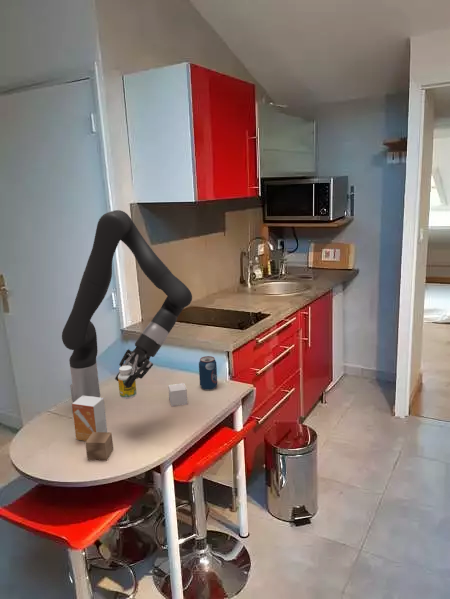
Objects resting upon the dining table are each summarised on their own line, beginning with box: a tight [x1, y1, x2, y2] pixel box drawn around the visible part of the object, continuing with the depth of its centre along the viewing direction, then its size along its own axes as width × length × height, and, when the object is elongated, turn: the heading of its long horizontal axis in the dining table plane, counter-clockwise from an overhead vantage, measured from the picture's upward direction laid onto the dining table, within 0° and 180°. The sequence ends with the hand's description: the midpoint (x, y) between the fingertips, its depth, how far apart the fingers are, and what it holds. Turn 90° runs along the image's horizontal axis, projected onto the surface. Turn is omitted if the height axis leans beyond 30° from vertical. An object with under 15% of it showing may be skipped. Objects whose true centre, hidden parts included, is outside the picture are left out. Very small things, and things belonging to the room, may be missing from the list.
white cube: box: [168, 382, 188, 407], centre depth 178 cm, size 6×6×6 cm
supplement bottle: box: [117, 365, 137, 400], centre depth 152 cm, size 5×5×10 cm
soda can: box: [198, 355, 218, 391], centre depth 189 cm, size 7×7×12 cm
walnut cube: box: [84, 431, 114, 462], centre depth 146 cm, size 6×6×6 cm
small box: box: [71, 396, 108, 442], centre depth 155 cm, size 8×6×13 cm
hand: (121, 383), depth 151 cm, fingers closed on supplement bottle, 5 cm apart
